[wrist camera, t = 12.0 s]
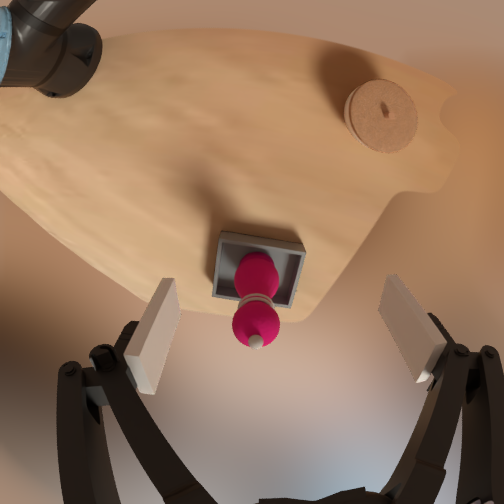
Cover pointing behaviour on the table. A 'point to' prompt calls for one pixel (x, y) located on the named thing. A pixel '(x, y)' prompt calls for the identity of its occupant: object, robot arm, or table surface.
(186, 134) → the table surface
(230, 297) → the bin
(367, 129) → the lidded jar
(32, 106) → the table surface
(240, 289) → the pepper mill
